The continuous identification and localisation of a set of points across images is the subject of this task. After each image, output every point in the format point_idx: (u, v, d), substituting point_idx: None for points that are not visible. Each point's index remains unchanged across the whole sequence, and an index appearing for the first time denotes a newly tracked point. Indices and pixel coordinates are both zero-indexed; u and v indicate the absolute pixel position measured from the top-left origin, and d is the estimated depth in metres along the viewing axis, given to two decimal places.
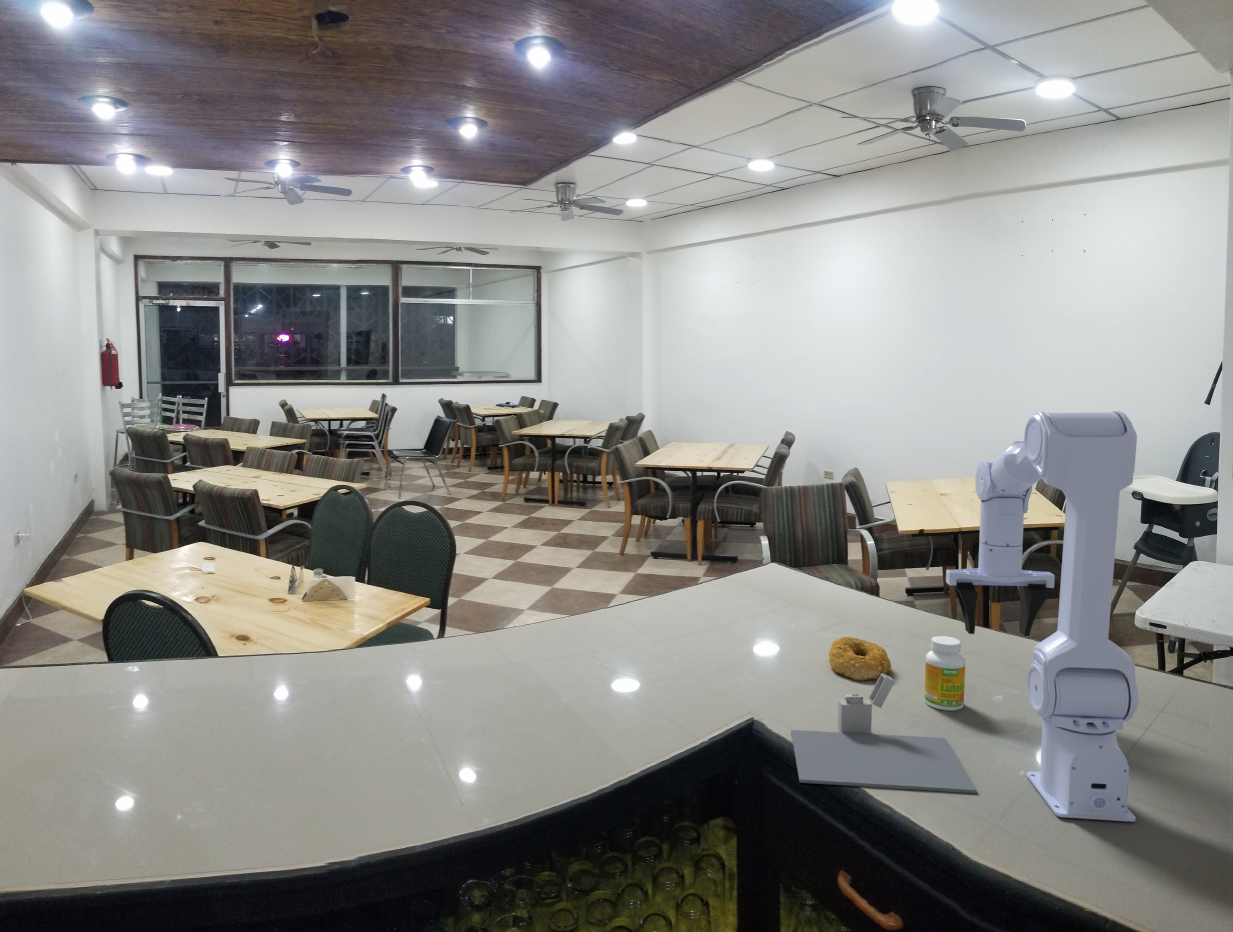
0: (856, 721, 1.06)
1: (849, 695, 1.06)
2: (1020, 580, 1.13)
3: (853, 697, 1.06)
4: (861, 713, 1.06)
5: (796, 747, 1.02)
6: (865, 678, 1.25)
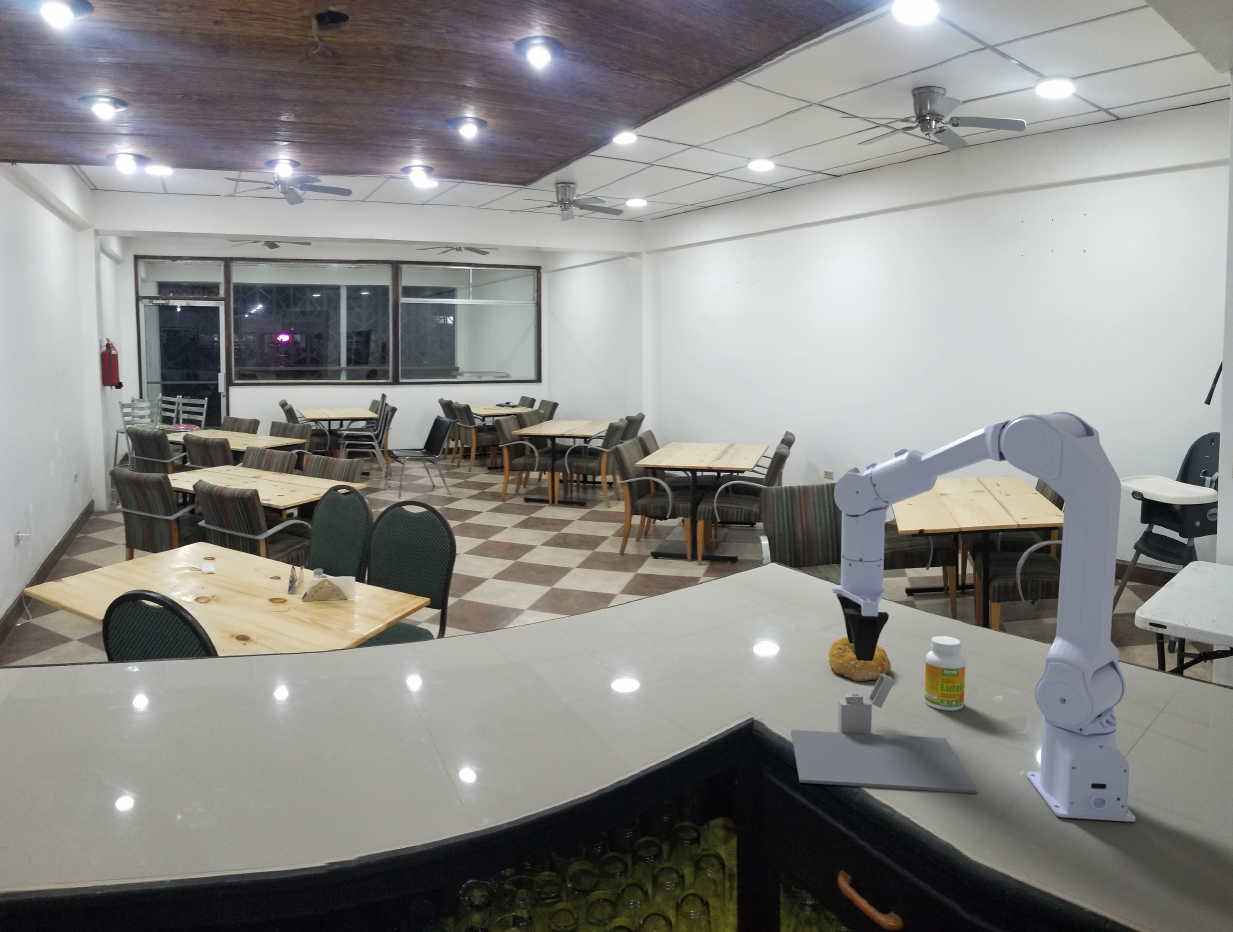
0: (856, 721, 1.06)
1: (849, 695, 1.06)
2: None
3: (853, 697, 1.06)
4: (861, 713, 1.06)
5: (796, 747, 1.02)
6: (865, 679, 1.24)
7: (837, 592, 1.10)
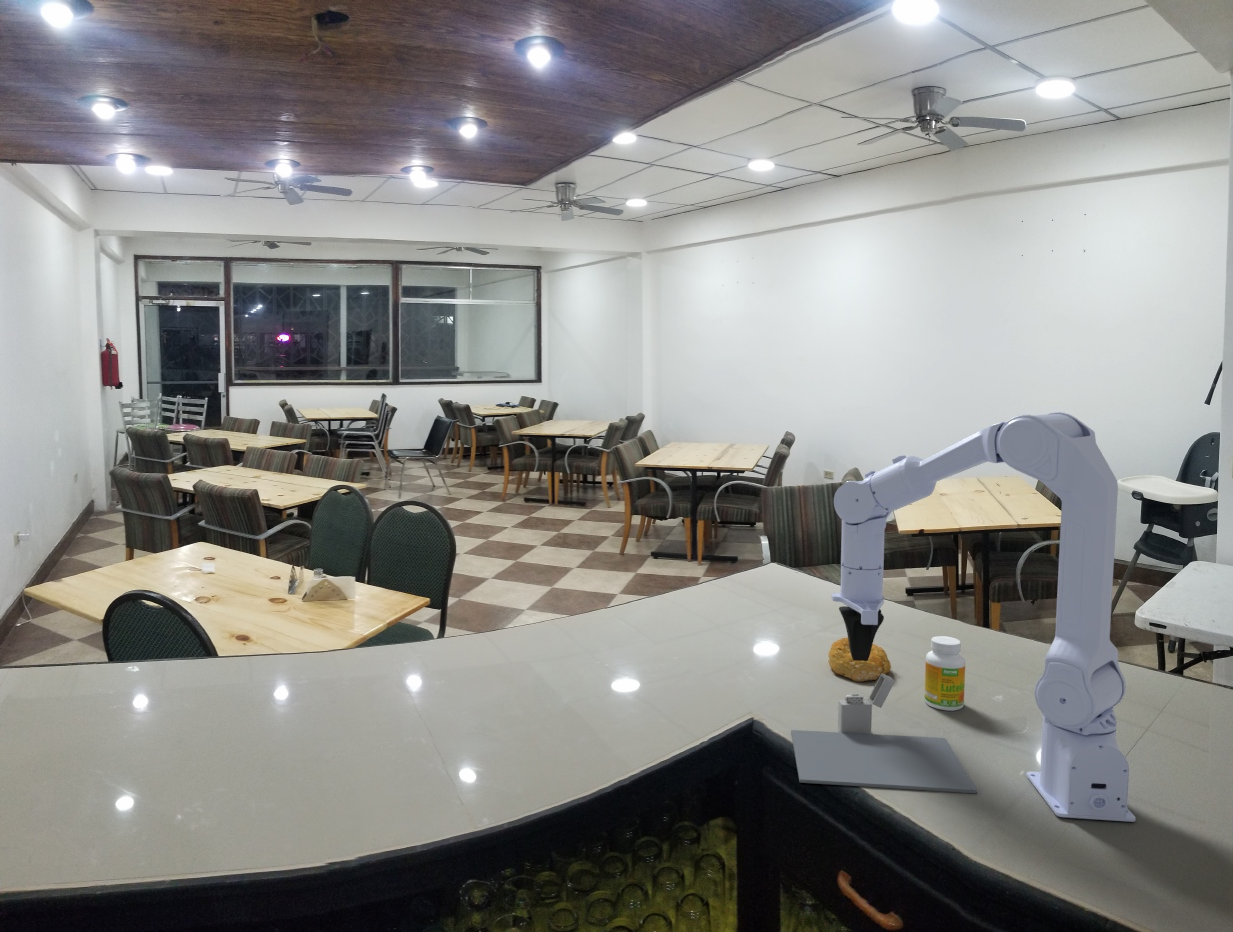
0: (856, 721, 1.06)
1: (849, 695, 1.06)
2: None
3: (853, 697, 1.06)
4: (861, 713, 1.06)
5: (796, 747, 1.02)
6: (865, 679, 1.24)
7: (837, 600, 1.10)
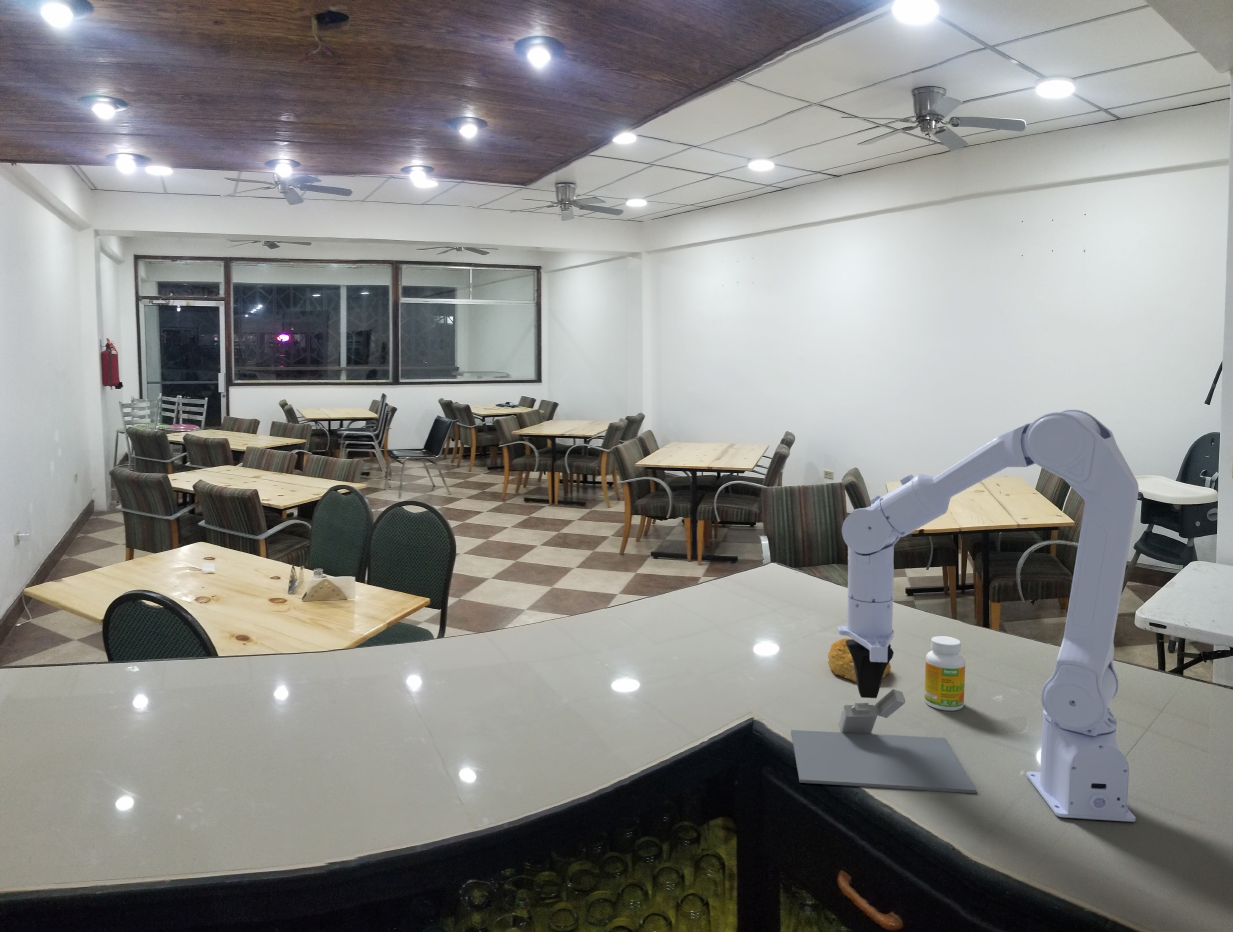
0: (858, 726, 1.05)
1: (855, 706, 1.03)
2: None
3: (859, 710, 1.03)
4: (865, 721, 1.04)
5: (796, 747, 1.02)
6: None
7: (843, 634, 1.04)
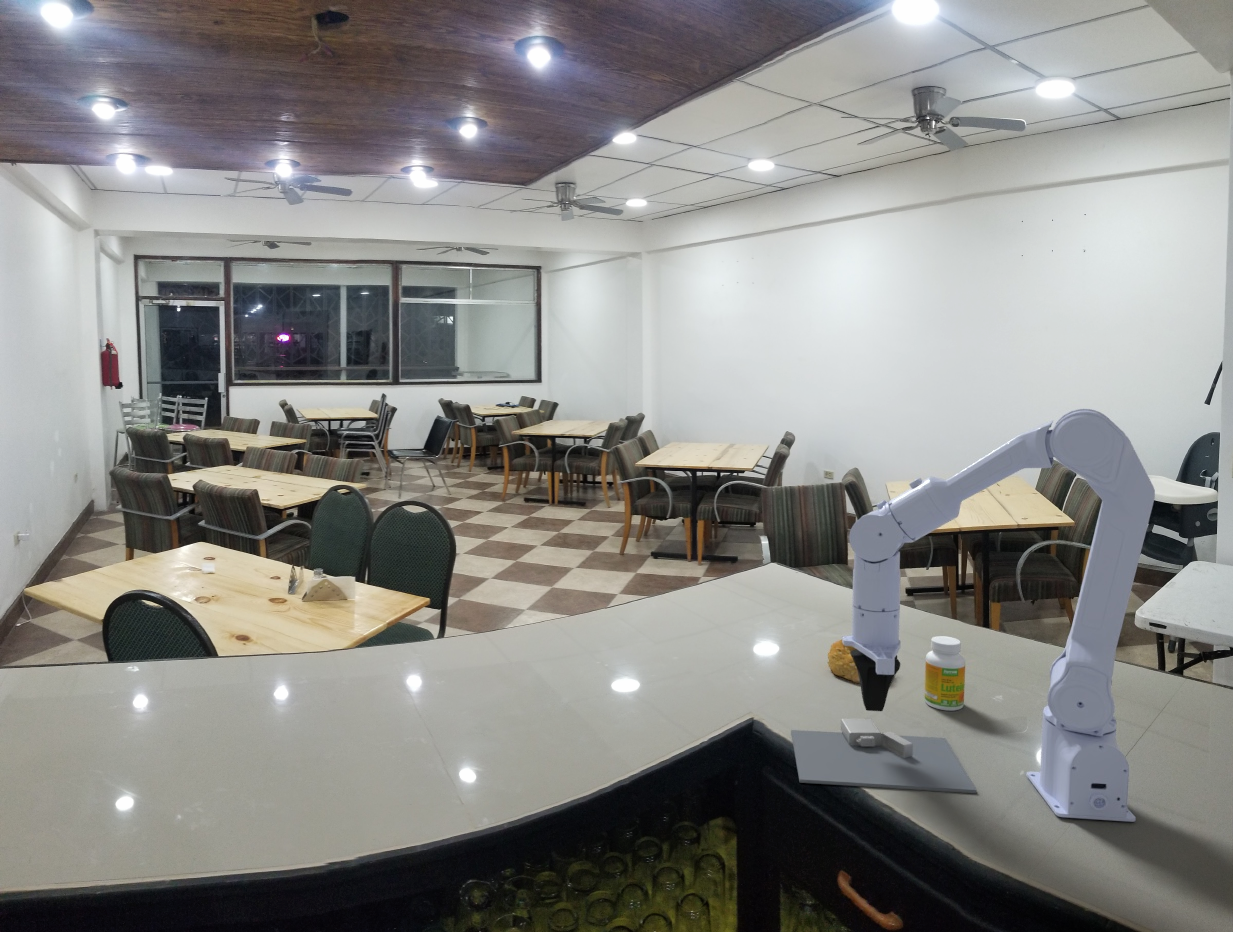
0: None
1: (861, 741, 1.01)
2: None
3: (863, 745, 1.01)
4: None
5: (796, 747, 1.02)
6: None
7: (848, 644, 0.99)
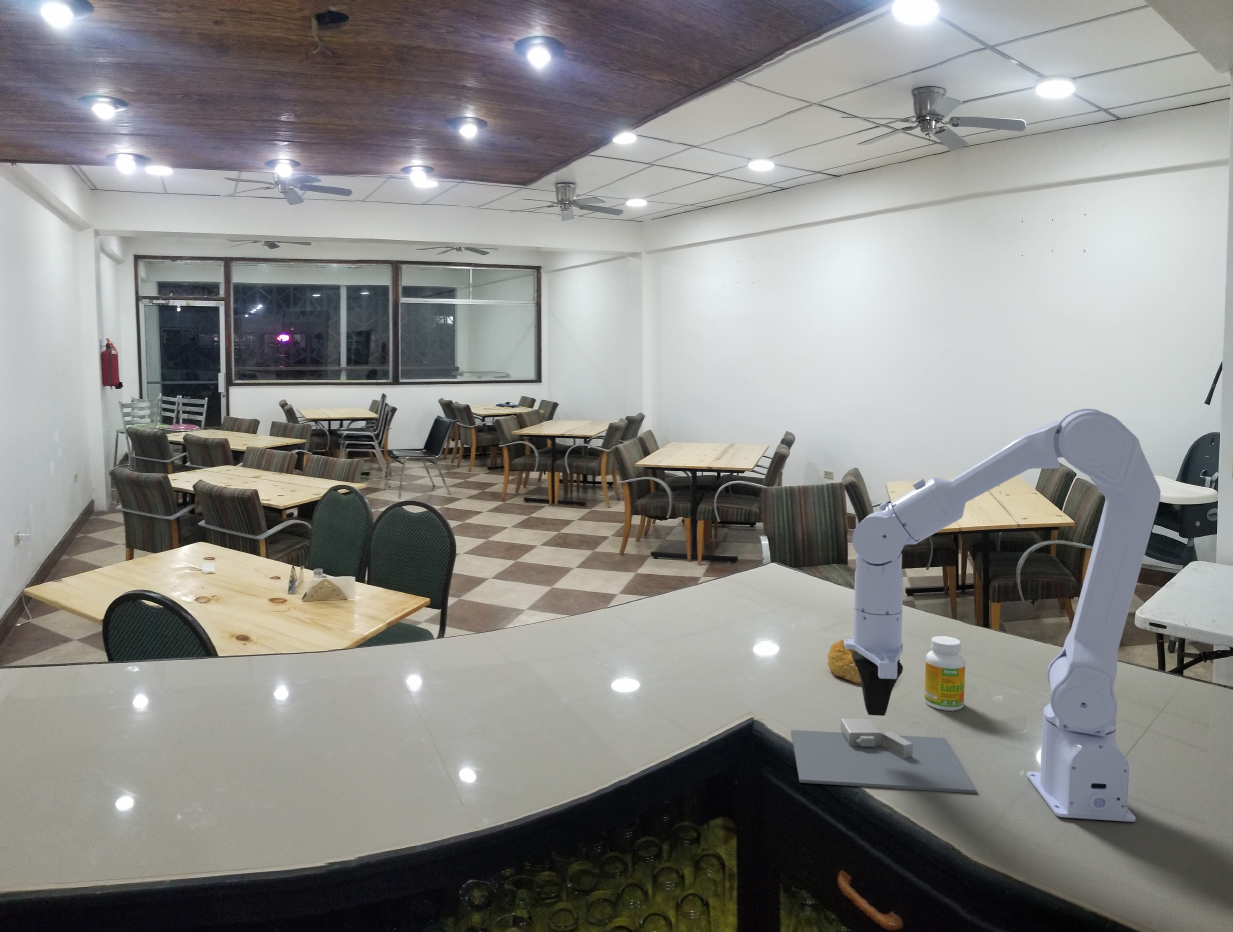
0: None
1: (861, 741, 1.01)
2: None
3: (863, 745, 1.01)
4: None
5: (796, 747, 1.02)
6: None
7: (850, 648, 0.98)
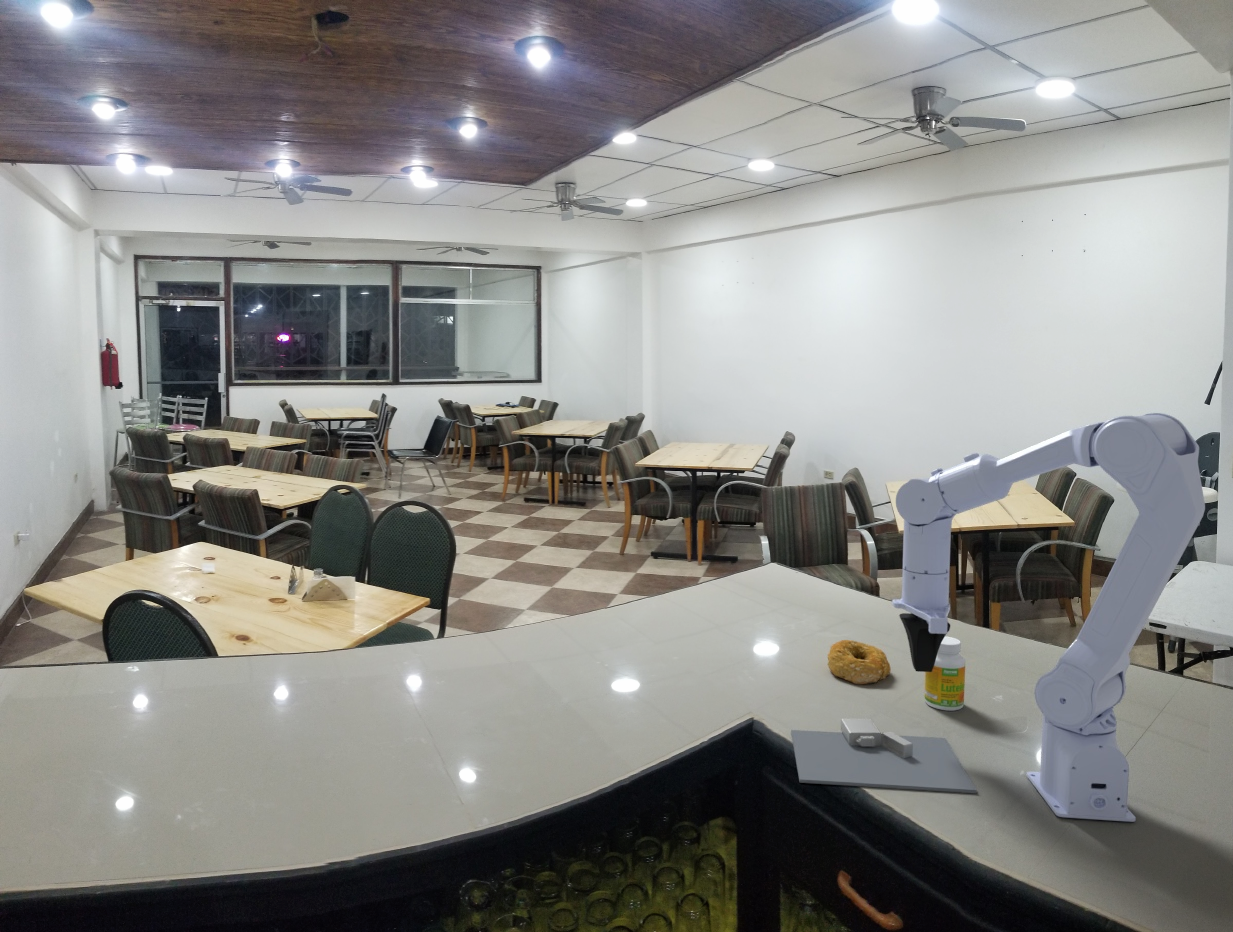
0: None
1: (861, 741, 1.01)
2: None
3: (863, 745, 1.01)
4: None
5: (796, 747, 1.02)
6: (865, 682, 1.23)
7: (899, 607, 1.02)
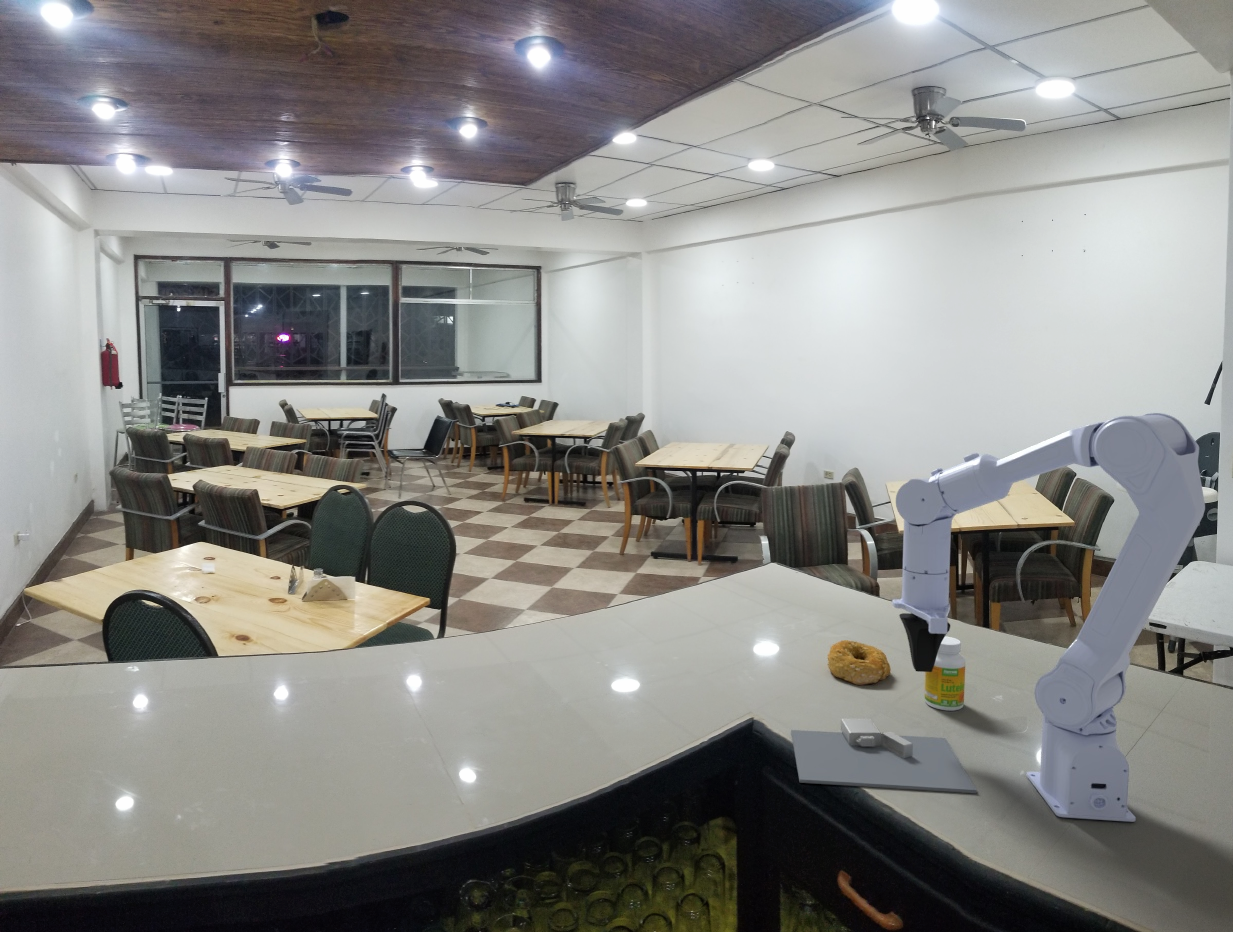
0: None
1: (861, 741, 1.01)
2: None
3: (863, 745, 1.01)
4: None
5: (796, 747, 1.02)
6: (865, 682, 1.23)
7: (899, 607, 1.02)
